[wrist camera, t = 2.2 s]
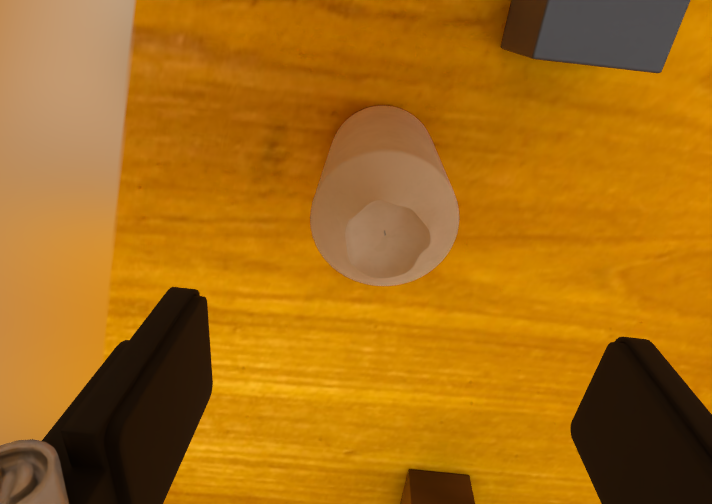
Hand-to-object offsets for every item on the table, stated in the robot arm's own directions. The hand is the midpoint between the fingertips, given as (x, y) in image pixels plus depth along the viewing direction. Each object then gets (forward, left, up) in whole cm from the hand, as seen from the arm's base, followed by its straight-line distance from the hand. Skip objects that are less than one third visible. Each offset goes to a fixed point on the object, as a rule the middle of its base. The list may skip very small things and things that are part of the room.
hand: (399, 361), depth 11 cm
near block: (+5, +10, -16) cm, 19 cm away
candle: (0, 0, -16) cm, 16 cm away
